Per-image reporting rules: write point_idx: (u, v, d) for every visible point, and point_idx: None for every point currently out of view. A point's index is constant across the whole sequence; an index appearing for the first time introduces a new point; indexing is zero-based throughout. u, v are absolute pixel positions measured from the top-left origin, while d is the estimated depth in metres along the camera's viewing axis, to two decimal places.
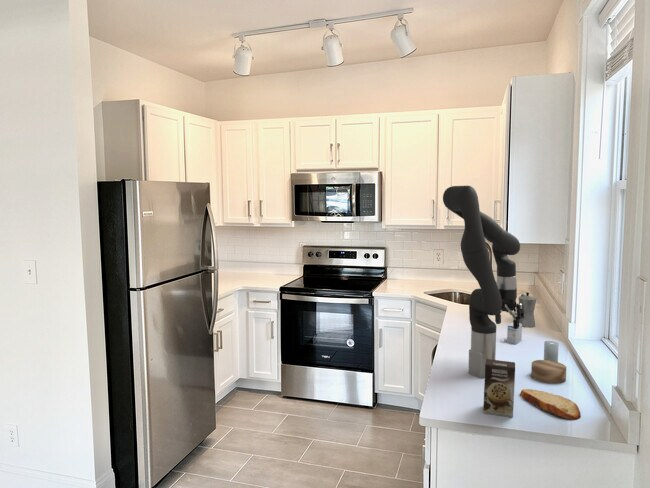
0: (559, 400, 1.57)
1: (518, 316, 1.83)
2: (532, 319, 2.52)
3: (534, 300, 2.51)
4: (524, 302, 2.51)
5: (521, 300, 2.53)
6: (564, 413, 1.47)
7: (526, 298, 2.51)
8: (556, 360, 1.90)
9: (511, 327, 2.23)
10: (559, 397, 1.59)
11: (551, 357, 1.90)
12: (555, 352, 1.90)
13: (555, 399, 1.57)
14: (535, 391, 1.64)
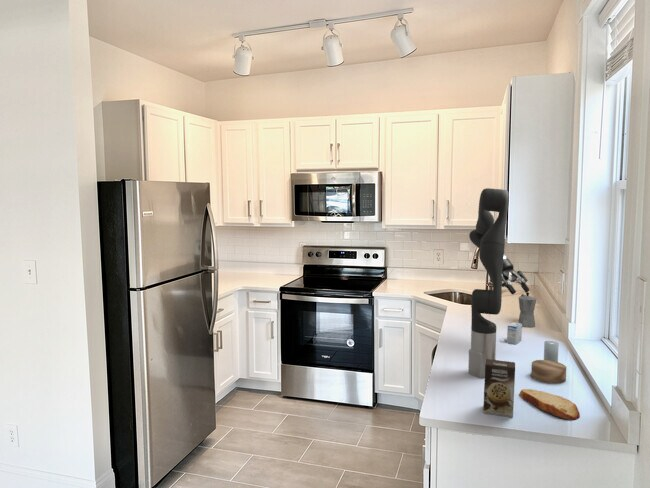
0: (558, 400, 1.57)
1: (525, 278, 2.09)
2: (532, 319, 2.52)
3: (534, 300, 2.51)
4: (524, 302, 2.51)
5: (521, 300, 2.53)
6: (563, 413, 1.47)
7: (526, 298, 2.51)
8: (556, 360, 1.90)
9: (511, 327, 2.23)
10: (558, 397, 1.59)
11: (551, 357, 1.90)
12: (555, 352, 1.90)
13: (554, 399, 1.57)
14: (535, 391, 1.64)
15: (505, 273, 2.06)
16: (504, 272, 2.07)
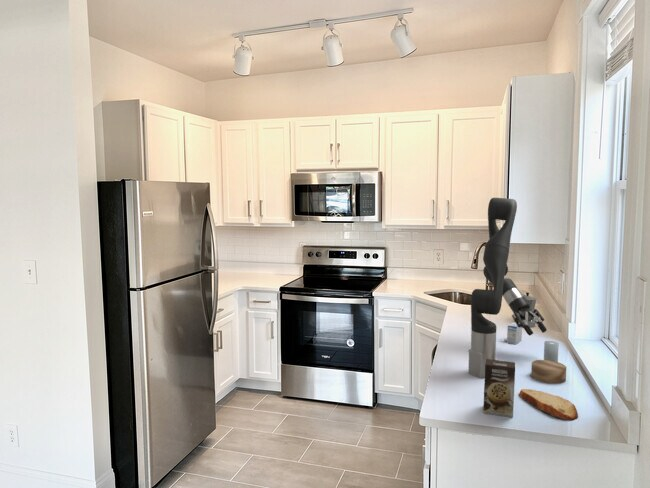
0: (557, 400, 1.56)
1: (542, 317, 2.02)
2: None
3: (534, 300, 2.51)
4: None
5: None
6: (560, 413, 1.47)
7: (526, 298, 2.51)
8: (556, 360, 1.90)
9: (511, 327, 2.23)
10: (558, 398, 1.58)
11: (551, 357, 1.90)
12: (555, 352, 1.90)
13: (553, 400, 1.57)
14: (534, 391, 1.64)
15: (521, 312, 2.00)
16: (520, 311, 2.00)
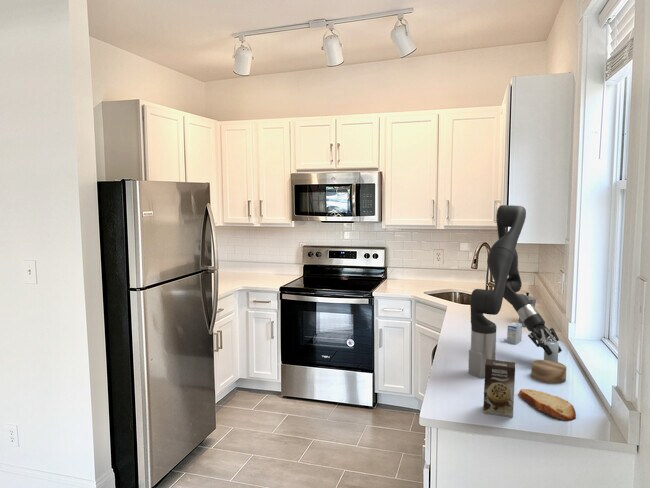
0: (556, 400, 1.56)
1: (557, 337, 1.95)
2: None
3: (534, 300, 2.51)
4: None
5: None
6: (558, 414, 1.47)
7: None
8: (556, 360, 1.90)
9: (511, 327, 2.23)
10: (557, 398, 1.58)
11: (551, 357, 1.90)
12: (555, 352, 1.90)
13: (552, 400, 1.57)
14: (534, 391, 1.64)
15: (536, 330, 1.94)
16: (535, 329, 1.94)
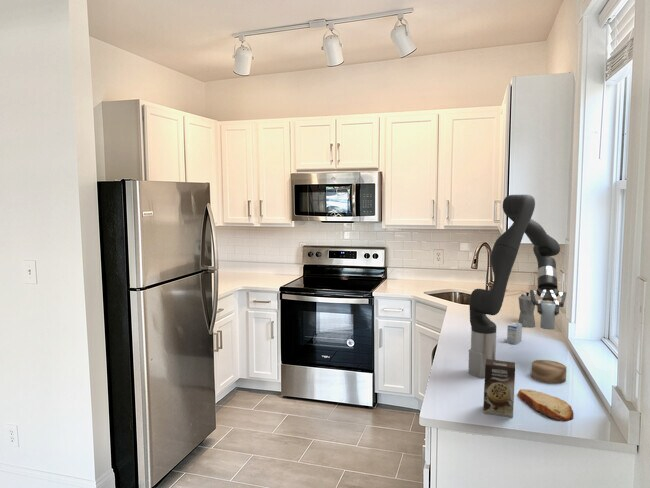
0: (555, 401, 1.56)
1: (562, 301, 1.90)
2: (532, 319, 2.52)
3: None
4: (524, 302, 2.51)
5: (521, 300, 2.53)
6: (555, 414, 1.47)
7: (526, 298, 2.51)
8: (548, 321, 1.89)
9: (511, 327, 2.23)
10: (556, 399, 1.58)
11: (542, 316, 1.90)
12: (545, 312, 1.89)
13: (550, 400, 1.56)
14: (533, 392, 1.64)
15: (539, 290, 1.96)
16: (539, 289, 1.96)
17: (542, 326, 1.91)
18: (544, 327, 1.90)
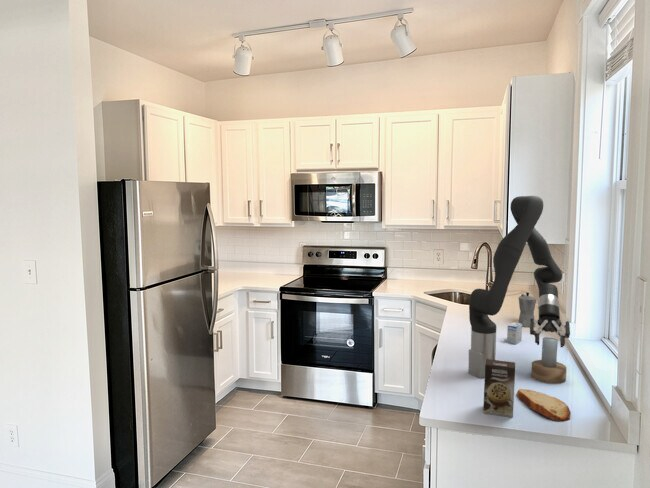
0: (553, 401, 1.56)
1: (568, 332, 1.79)
2: None
3: (534, 300, 2.50)
4: (524, 302, 2.51)
5: (521, 300, 2.53)
6: (550, 414, 1.47)
7: (526, 298, 2.51)
8: (549, 358, 1.78)
9: (511, 327, 2.23)
10: (554, 399, 1.57)
11: (544, 352, 1.80)
12: (547, 348, 1.79)
13: (548, 401, 1.56)
14: (532, 392, 1.64)
15: (541, 320, 1.85)
16: (540, 319, 1.85)
17: (543, 363, 1.80)
18: (545, 364, 1.79)
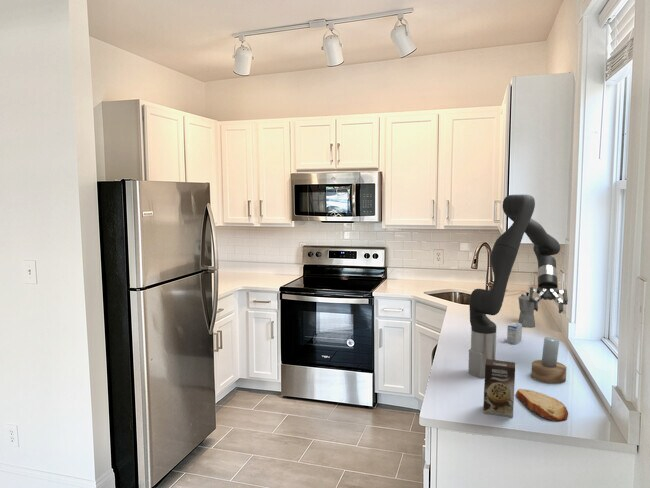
0: (551, 402, 1.55)
1: (566, 298, 1.90)
2: (532, 319, 2.52)
3: None
4: (524, 302, 2.51)
5: (521, 300, 2.53)
6: (547, 414, 1.47)
7: (526, 298, 2.51)
8: (551, 358, 1.78)
9: (511, 327, 2.23)
10: (553, 399, 1.57)
11: (545, 353, 1.79)
12: (549, 349, 1.78)
13: (547, 401, 1.56)
14: (531, 392, 1.64)
15: (540, 289, 1.96)
16: (539, 288, 1.96)
17: (544, 363, 1.80)
18: (546, 364, 1.79)
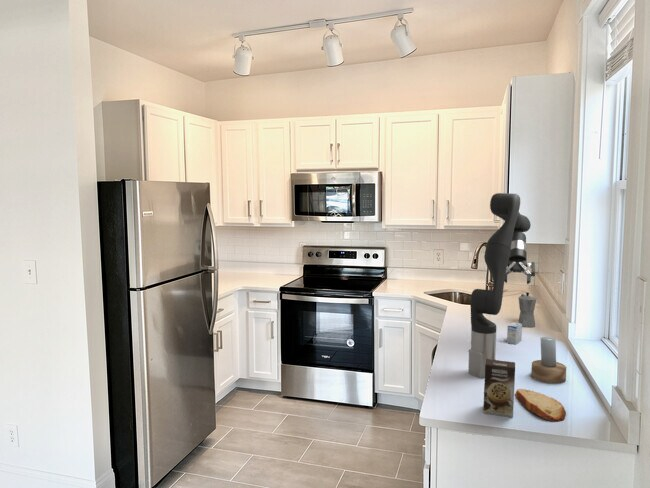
0: (550, 402, 1.55)
1: (533, 270, 2.02)
2: (532, 319, 2.52)
3: (534, 300, 2.51)
4: (524, 302, 2.51)
5: (521, 300, 2.53)
6: (544, 414, 1.47)
7: (526, 298, 2.51)
8: (550, 357, 1.78)
9: (511, 327, 2.23)
10: (552, 400, 1.57)
11: (544, 353, 1.80)
12: (547, 348, 1.79)
13: (545, 401, 1.56)
14: (531, 392, 1.64)
15: (510, 262, 2.07)
16: (509, 261, 2.08)
17: (544, 363, 1.80)
18: (547, 364, 1.79)
